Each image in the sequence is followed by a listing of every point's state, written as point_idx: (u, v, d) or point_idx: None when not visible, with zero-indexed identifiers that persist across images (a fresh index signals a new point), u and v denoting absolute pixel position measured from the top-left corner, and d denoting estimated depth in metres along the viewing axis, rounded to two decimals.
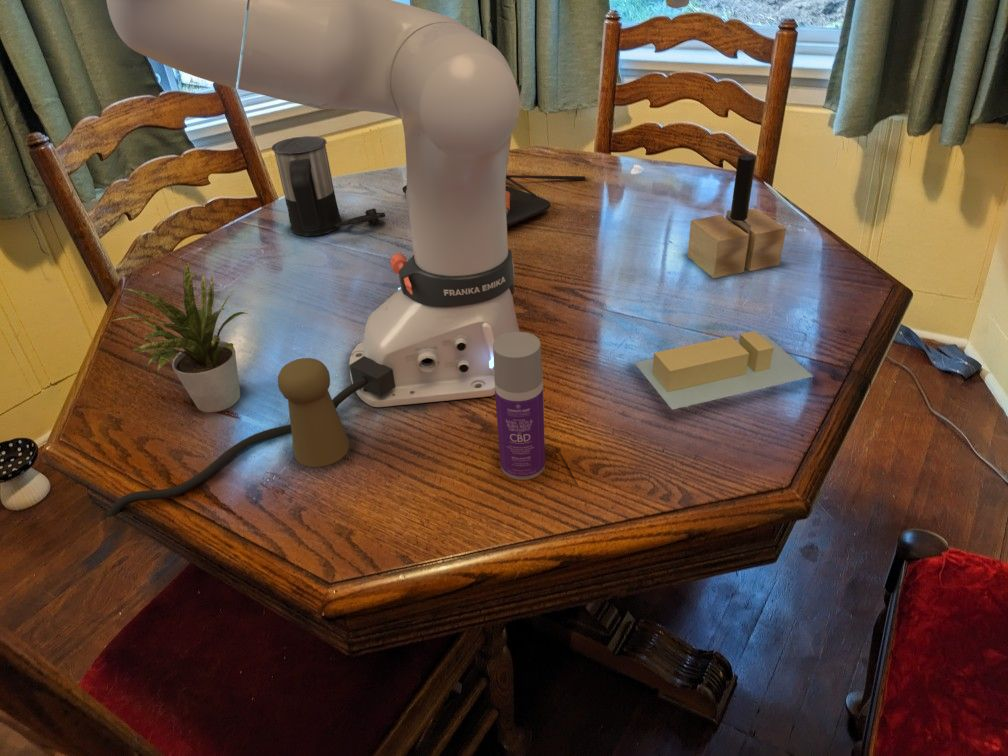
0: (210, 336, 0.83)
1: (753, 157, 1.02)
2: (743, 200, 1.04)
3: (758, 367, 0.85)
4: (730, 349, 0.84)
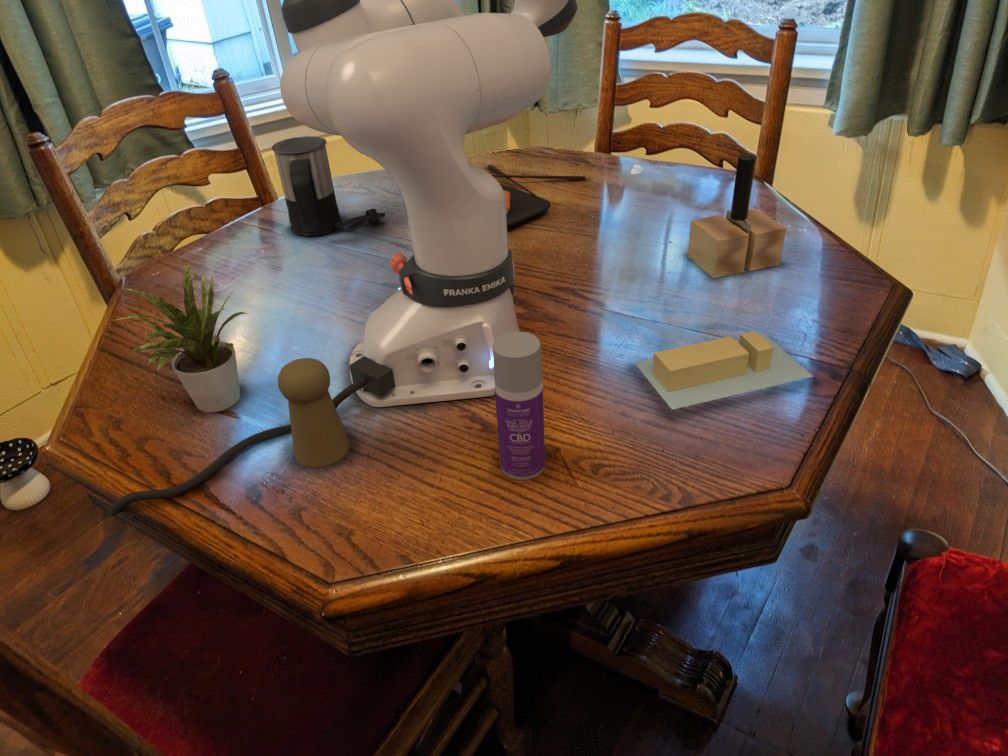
0: (210, 336, 0.83)
1: (753, 157, 1.02)
2: (743, 200, 1.04)
3: (758, 367, 0.85)
4: (730, 349, 0.84)
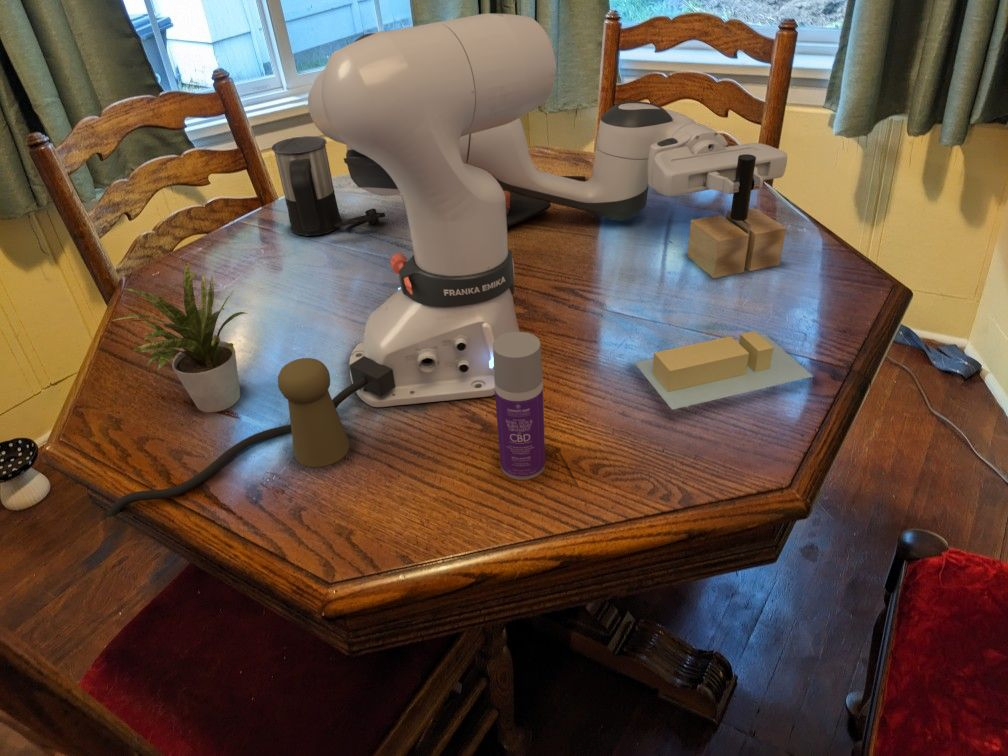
0: (210, 336, 0.83)
1: (753, 157, 1.02)
2: (743, 200, 1.04)
3: (758, 367, 0.85)
4: (730, 349, 0.84)
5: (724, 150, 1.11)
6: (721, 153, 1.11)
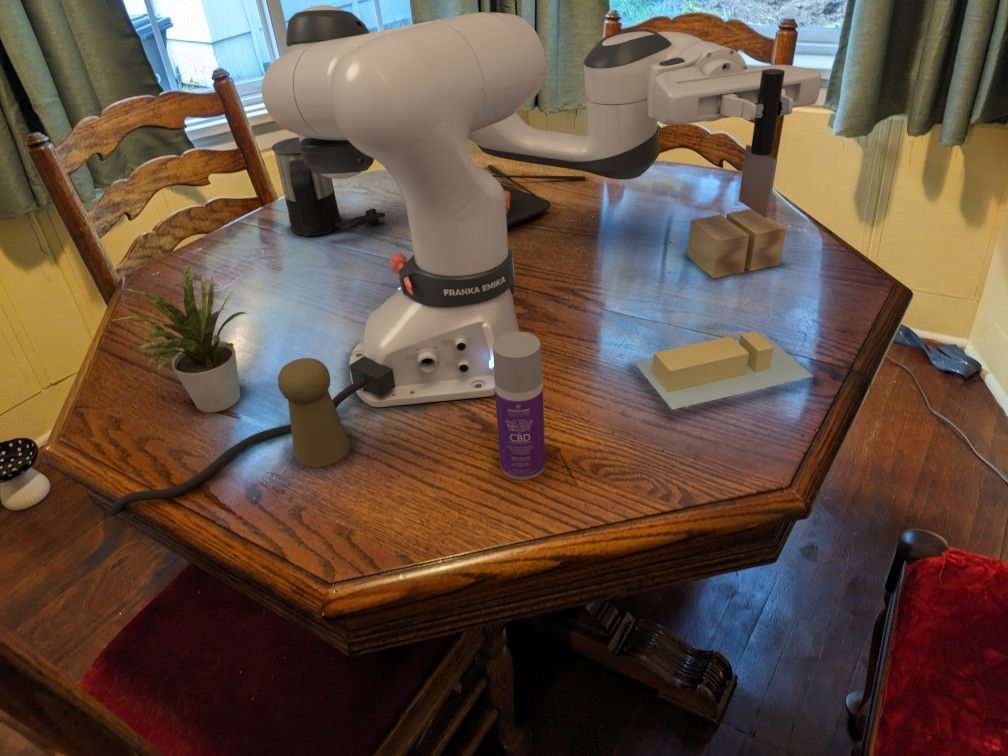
0: (210, 336, 0.83)
1: (781, 71, 0.80)
2: (767, 129, 0.83)
3: (758, 367, 0.85)
4: (730, 349, 0.84)
5: (743, 71, 0.90)
6: (739, 75, 0.89)
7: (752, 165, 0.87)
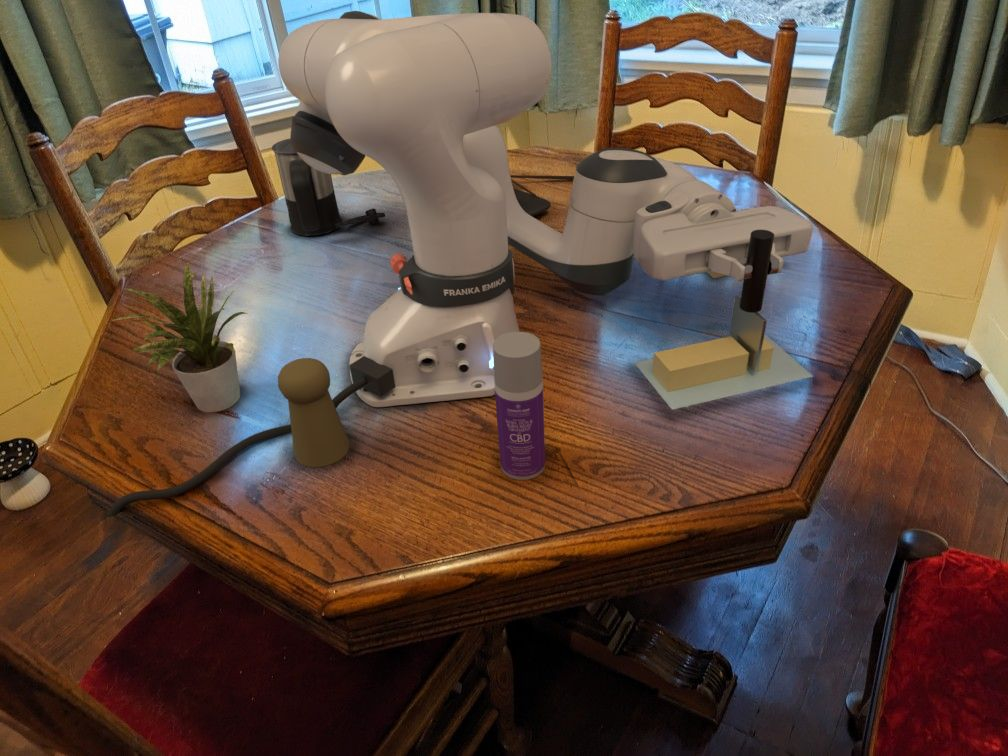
0: (210, 336, 0.83)
1: (771, 234, 0.77)
2: (757, 288, 0.80)
3: (758, 367, 0.85)
4: (730, 349, 0.84)
5: (732, 216, 0.87)
6: (727, 221, 0.86)
7: (741, 317, 0.85)
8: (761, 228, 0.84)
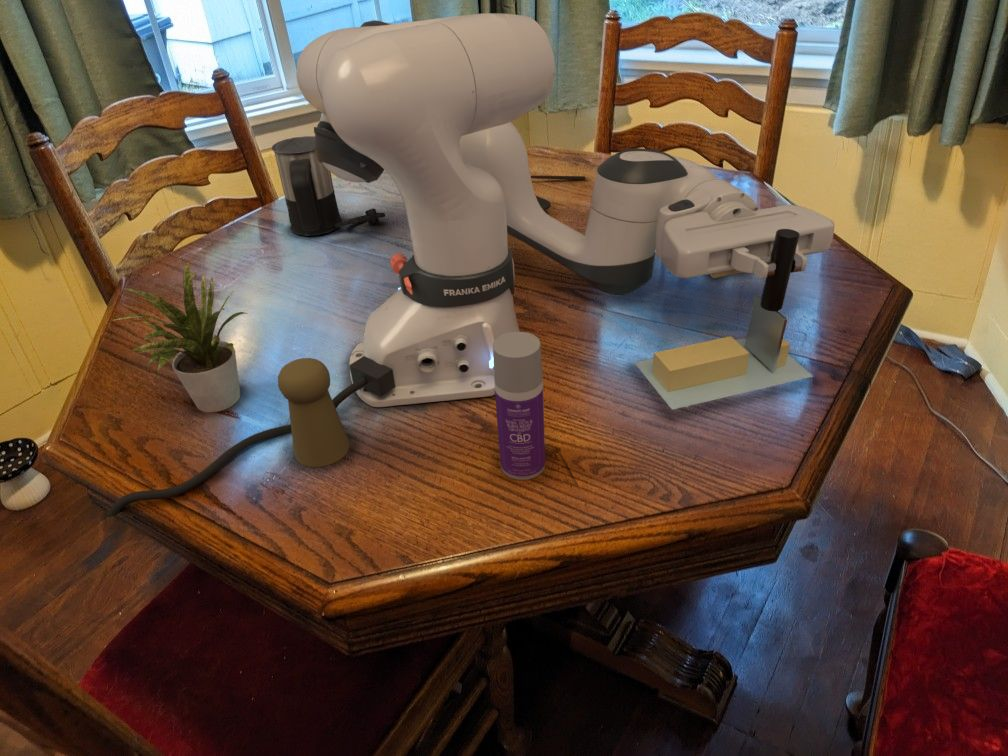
0: (210, 336, 0.83)
1: (796, 234, 0.78)
2: (779, 287, 0.81)
3: None
4: (730, 349, 0.84)
5: (754, 215, 0.87)
6: (749, 220, 0.87)
7: (760, 316, 0.85)
8: (784, 227, 0.84)
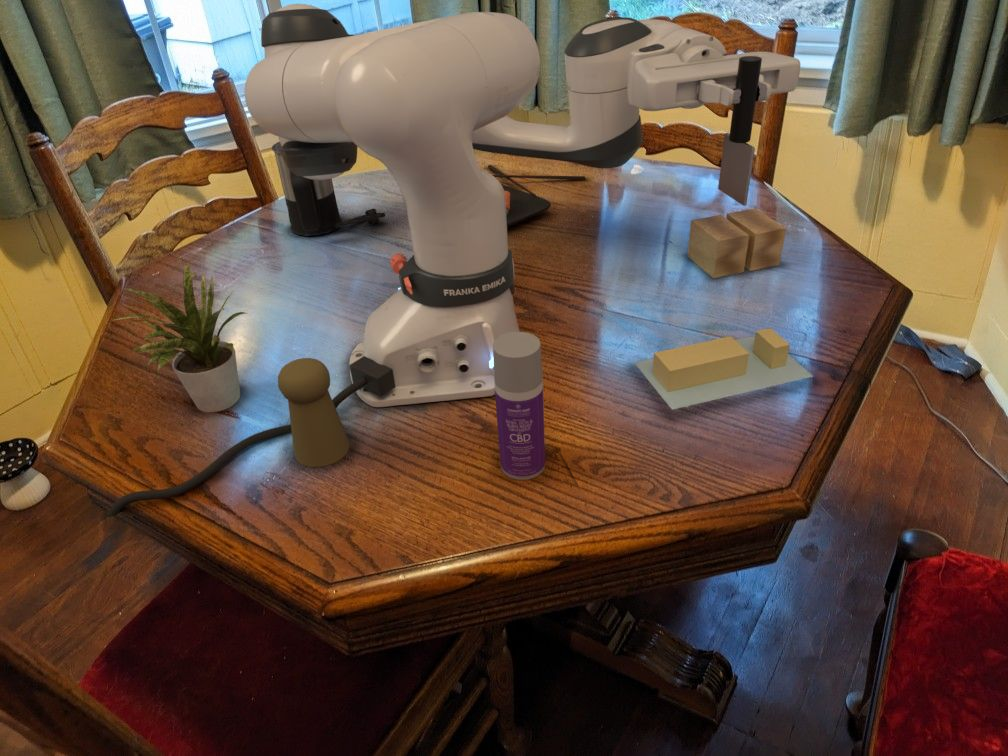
0: (210, 336, 0.83)
1: (758, 58, 0.80)
2: (745, 116, 0.83)
3: (774, 364, 0.86)
4: (730, 349, 0.84)
5: (722, 58, 0.90)
6: (718, 62, 0.89)
7: (730, 153, 0.88)
8: None
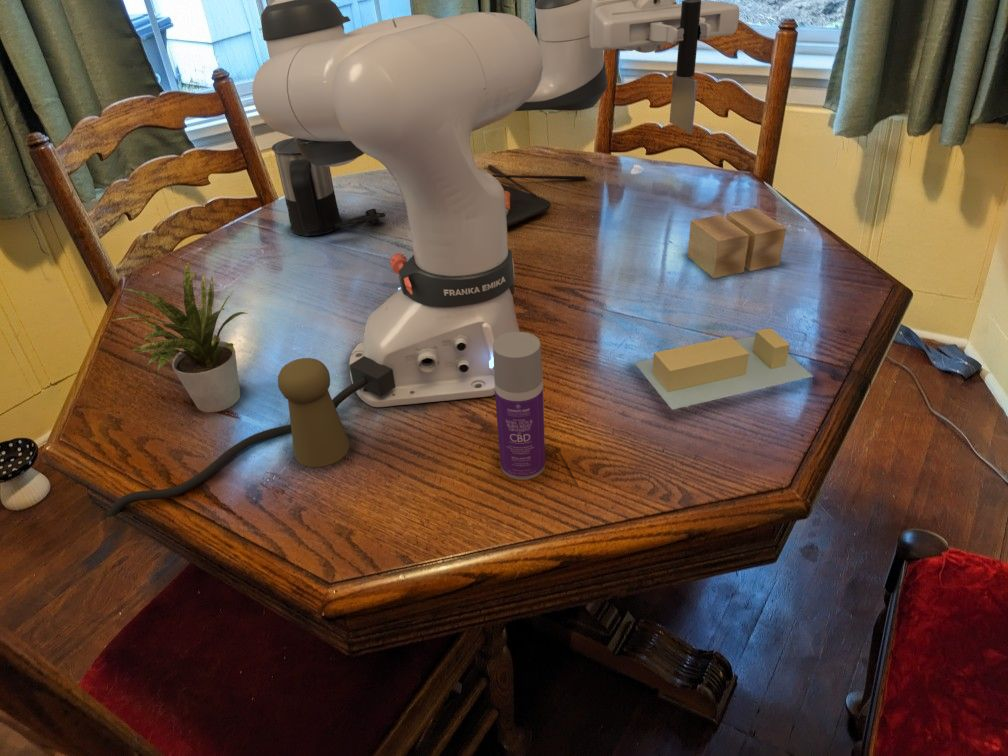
0: (210, 336, 0.83)
1: (698, 0, 0.92)
2: (688, 52, 0.95)
3: (774, 364, 0.86)
4: (730, 349, 0.84)
5: (672, 5, 1.02)
6: (668, 8, 1.01)
7: (678, 87, 1.00)
8: None
